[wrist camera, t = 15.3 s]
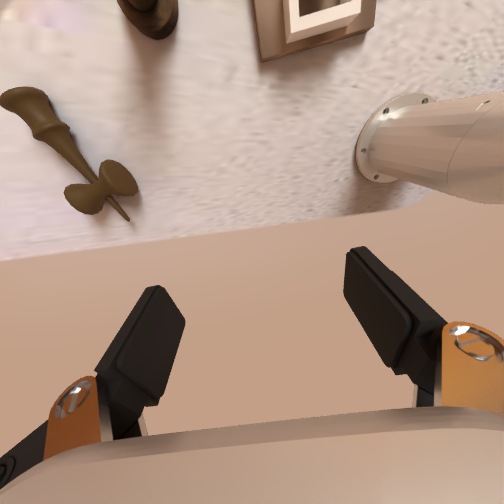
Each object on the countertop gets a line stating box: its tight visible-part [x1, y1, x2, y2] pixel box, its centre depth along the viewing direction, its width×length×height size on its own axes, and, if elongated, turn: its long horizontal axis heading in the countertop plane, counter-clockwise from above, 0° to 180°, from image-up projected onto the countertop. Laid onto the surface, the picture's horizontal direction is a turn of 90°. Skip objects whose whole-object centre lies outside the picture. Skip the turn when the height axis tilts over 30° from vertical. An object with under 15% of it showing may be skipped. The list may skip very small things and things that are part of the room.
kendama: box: [0, 87, 138, 221], centre depth 29 cm, size 6×10×20 cm
